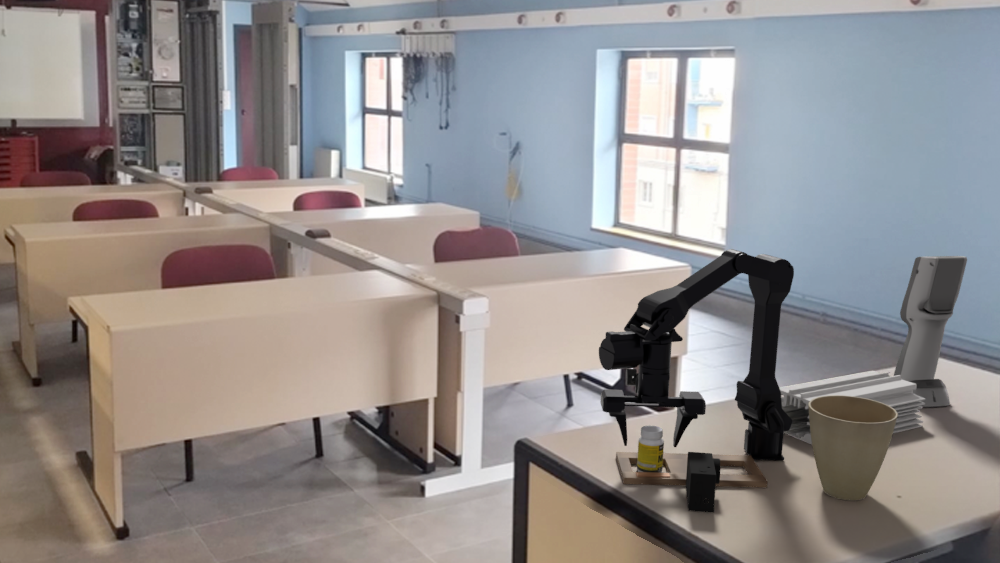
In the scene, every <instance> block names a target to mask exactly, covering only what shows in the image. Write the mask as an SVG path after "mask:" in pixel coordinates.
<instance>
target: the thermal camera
mask: <svg viewBox="0 0 1000 563" xmlns="http://www.w3.org/2000/svg"><path fill="white" fill-rule="evenodd" d="M967 262H968V258H967V256H964V255H946V256H945V255H940V256H939V255H937V256H936V255H935V256H934V255H933V256H929V255H928V256H926V255H925V256H917V257H915V259H914V263H913V265H912V266H913V267H912V269H911V273H910V278H909V281H908V285H907V288H906V291H905V294H904V297H903V300H902V304H901V307H900V313H899V315H900V318H901V320H902V321H903V323H905V324H906V326H907V327H908V330H907V333H906V338H905V340H904V343H903V346H902V348H901V351H900V354H899V356H898V359H897V362H896V366H895V369H894V372H893V376H896V375H901V379H902V380H905V381H908V382H912V383H915V384H917V387H916V389H915V390H913V394H915V395H917V396H920V397H922V398H925V399H926V400H922V401H921V402H923V403H925V405H920V406H921V407H923V408H925V409H927V408H944V407H945V408H946V407H949V406H950V403H951V402H950V396H949V392H948V388H947V386H946V384H945V383H944V381H943V380H942V379H940V378H935V375H936V372H937V368H938V364H939V360H940V355H941V354H940V353H941V349H942V344H943V339H944V334H945V328H946V325H947V322H948V321H949V319H950V318H951V317H952V316H953V314H954V310H955V309H954V308H955V305H956V303H957V301H958V297H959V294H960V290H961V287H962V282H963V278H964V275H965V271H966V266H967ZM923 408H922V409H923Z"/></svg>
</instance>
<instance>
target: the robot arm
mask: <svg viewBox="0 0 1000 563" xmlns="http://www.w3.org/2000/svg"><path fill="white" fill-rule="evenodd" d="M740 274H744V275H747V276H748V280H747V281H748V288H749V290H750V292H751V294H752V297H753V301H754V305H753V306H754V308H753V322H752V330H751V332H752V333H751V344H750V356H749V357H750V358H749V368H748V374H747V375H746V376H745V378H744V379H743V380H737V382H736V395H735V397H734V401H735V402H736V403H737V408H738V409H739V411H740V412H741V413H742V417H743V420H744V421H747V422H748V425H747V427H748V428H747V429H745V431H744V438H743V439H744V440H743V441H744V442H743V450H744V451H745V453H746V455H751V457H752V458H753V460H754V461H785V456H784V455H783V447H784V446H783V445H784V434H785V433H784V431H789V430H790V427H791V424H792V419H791V418H790V417H789V416H788V415H787V414H786V412H785V411H784V410H783V409H782V400H781V397H782V395H781V391H780V388H779V387H780V385H779V383H778V381H777V378H776V369H777V368H776V367H777V356H778V346H779V334H780V322H781V315H782V314H781V313H782V305H783V302H784V301H785V300H786V298H787V297H788V296H789V294H790V292H791V289H792V284H793V280H794V275H795V268H794V266H793V265H792V264H791V262H790V261H789V260H787V259H786V258H785V259H784V258H781V257H778V256H773V255H769V254H764V253H760V254H757V255H756V256H753V255H749V254H748V253H746V252H743V251H740V250H737V249H733V248H729V249H726V250H724V251H723V252H722V253H721V255H720V256H717V258H715V259H713V260H712V261H711V262H709V263H708V264H706V265H705V266H703V267H702V268H700V269H699V270H697V271H696V272H693V274H692V275H690V276H688V277H687V278H685V279H684V280H683V281H681V282H679V283H678V284H677V285H675V286H673V287H669V288H665V289H660V290H657V291H654V292H653V293H650V294H647V295H646V296H644V297H643V298H641V299H640V300H639V302H638V303H637V308H636V310H635V312H634V313H633V314H632V316H631V317H630V319H629V320H628V321H627V323H626V325H625V326H624V327H623V331H606V332H605V338H603V339H602V340H601V343H600V344H599V345H600V346H599V347H598V359H599V362H600V365H601V366H602V368H603V369H604V370H606V371H612V370H624V369H625V386H627V387H628V386H630V387H631V386H633V387H634V392H635V394H636V395H624V391H623V389H611V388H610V389H605V388H604V389H603V390H602V391H601V393H600V406H601V409H602V412H604V413H608V415H609V416H610V417H611V418H615V419H616V422H617V424H618V427H619V430H620V434H621V438H622V441H623V445H624V447H627V446H628V445H627V444H628V428H627V414H626V411H625V409H626V407H644V408H645V407H648V408H649V407H650V408H651V407H652V408H654V407H655V408H656V407H657V408H676V420H675V427H674V433H673V440H672V441H673V444H672V445H673V448H677V446H678V445H679V443H680V441H681V439H682V437H683V434H684V433H685V431H686V429H687V428H688V427H689V425H690V423H691V422H692V421H693V420H697V419H698V418H699V416H704V415H706V408H707V407H706V406H707V404H706V400H705V399H704V397H703V395H702V394H701V393H700V391H687V390H686V391H683V390H682V391H679V395H678V396H669V394H670V377H671V376H670V375H671V363H672V362H671V359H672V344H673V343H676V342H683V338H684V337H682V336H681V335H680V334H679V333H678V332H677V330H676V329H675V328H676V327H677V326H679V324H680V323H682V322H683V320H684V319H686V317H687V314H688V312H690V311H689V310H690V309H692V308H693V306H695V305H696V304H698V303H699V302H700V301H702V300H704V299H705V298H707V296H709V295H711V294H712V293H714V292H716V290H718V289H719V288H721V287H722V286H724V285H725V284H727V283H728V282H730V281H731V280H733V279H734V278H736V277H737V276H738V275H740ZM643 326H645V327H647V328H645V327H643ZM648 328H649V329H648ZM637 367H638V371H637V369H636V368H637Z"/></svg>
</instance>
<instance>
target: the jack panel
mask: <svg viewBox="0 0 1000 563" xmlns="http://www.w3.org/2000/svg"><path fill="white" fill-rule="evenodd" d="M712 456H713V458H717V459H720V467H738V468H739V467H740V468H741V467H743V469H744V470H745V472H746V474H737V473H736V474H735V473H729V474H728V473H720V481H719V484H716V487H725V488H726V487H727V488H733V487H734V488H764V489H765V488H768V482H769V481H768V480H767V478H766V477H765V475H764V474H763V472H762V471H761V469H760V468H759V466H758V464H757V463H756V460H753V458H752V457H751V455H748V454H718V453H717V454H713V453H712ZM615 459H616V463H617V466H618V470H619V472H620V476H621V481H622V483H623V485H647V486H649V485H651V486H652V485H653V486H681V487H682V486H685V487H686V475H687V459H688V453H676V452H675V453H674V452H673V453H672V452H670V453H669V452H663V466H665V469H666V471H667V472H663V471H662V472H638V471H634V470H633V468H632V465H637V459H638V451H636V452H635V451H632V452H631V451H628V452H627V451H616V452H615Z"/></svg>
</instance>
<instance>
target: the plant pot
mask: <svg viewBox="0 0 1000 563" xmlns="http://www.w3.org/2000/svg"><path fill="white" fill-rule="evenodd" d="M808 406H809V421H810V432H811V440H812V445H811V446H812V451H813V457H814V461H815V466H816V469H817V473H818V476H819V477H818V478H819V481H820V483H821V488H822V490H823V492H824V493H825V494H827V496H830V497H832V498H834V499H837V500H843V501H851V502H852V501H860V500H861V501H862V500H863V499H865V498H866V497H867V495H868V494H869V492H870V490H871V488H872V487H873V484H874V482H875V481H876V478H877V476H878V474H879V472H880V470H881V468H882V465H883V462H884V460H885V458H886V455H887V453H888V450H889V448H890V444H891V441H892V437H893V434H894V433H893V431H894V427H895V424H896V420H897V416H898V413H897V412H896V410H895V409H893V408H892V407H890V406H888V405H886V404H884V403H881V402H878V401H874V400H870V399H866V398H861V397H854V396H843V395H830V396H821V397H817V398H814V399H812V400H811V401H810V402H809V403H808Z"/></svg>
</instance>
